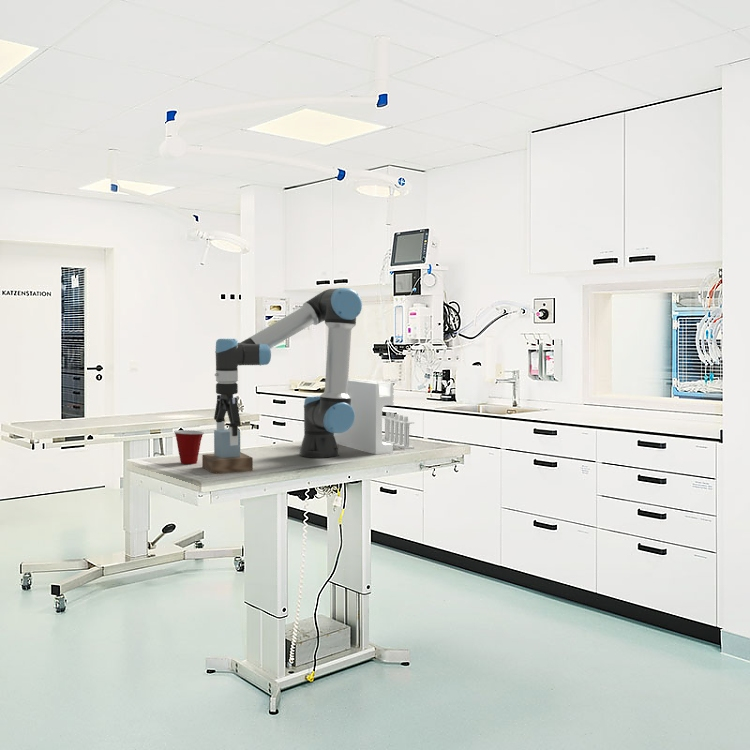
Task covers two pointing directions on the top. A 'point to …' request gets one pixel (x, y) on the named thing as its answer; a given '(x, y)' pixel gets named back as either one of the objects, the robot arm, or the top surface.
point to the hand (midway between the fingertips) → (227, 442)
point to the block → (367, 416)
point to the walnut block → (227, 463)
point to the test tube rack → (397, 430)
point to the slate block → (225, 444)
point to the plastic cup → (188, 445)
